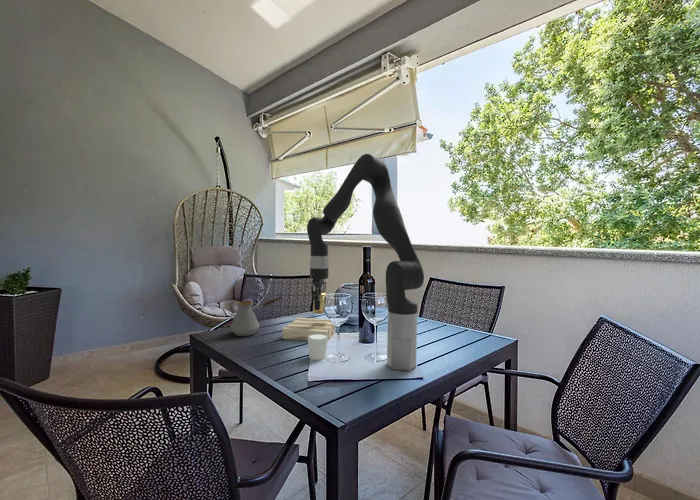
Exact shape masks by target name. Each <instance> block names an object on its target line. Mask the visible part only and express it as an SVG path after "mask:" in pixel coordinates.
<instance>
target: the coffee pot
mask: <svg viewBox="0 0 700 500" xmlns="http://www.w3.org/2000/svg"><path fill="white" fill-rule="evenodd" d="M279 300H282V302H284V298H283V296H278V297H276V298H274V299H271V300H269V301H267V302H264V303H262V304H261V305H258V306H255V307H252V305H253V304H254V301H251V300H250V301H249V300H242V301H241V300H240V301H238V302H236V305H237V307H238V308H237V310H236V313H235V315H234V318H233V319H232V322H231V325H230V327H229V329H230V331H231V332H232V333H233V334H234V335H235V336H237V337H238V336H239V337H248V336H252V335H254V334H256V332H257V331H258V330H259V328H260V324H259V321H258V319H257V317H256V314H255V313H254V311H256V310H258V309H260V308H263V307H265V306H268V305H271V304H273V303H275V302H276V301H278V302H279Z"/></svg>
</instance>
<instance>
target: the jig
mask: <svg viewBox="0 0 700 500" xmlns="http://www.w3.org/2000/svg"><path fill="white" fill-rule="evenodd" d="M330 320H331V319H323V318H311V317H310V318H306V317H296V318H295V319H294V320H293V321H291V322H290V323H288V324H287V325H286V326H284V327H283V328H282V339H284V340H295V341H305V342H306V341H307V342H308V336H309V335H312V334H324V335H327V336H328V341H329V340H330V339H331V338H332V337H331V336H332V335H333V336H334V334H335V333H336V332H335V324H333V323H332V322H331V321H330ZM330 337H331V338H330Z"/></svg>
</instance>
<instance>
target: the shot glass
mask: <svg viewBox="0 0 700 500" xmlns="http://www.w3.org/2000/svg"><path fill="white" fill-rule="evenodd" d="M328 342H329V340H328V336H327V335H324V334H312V335H309V336H308V341H307V345H308V356H309V359H310V360H314V361H322V360H325V359H326V357H327V349H328Z"/></svg>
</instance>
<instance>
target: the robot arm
mask: <svg viewBox="0 0 700 500" xmlns="http://www.w3.org/2000/svg"><path fill="white" fill-rule="evenodd" d="M389 173H390V172H389V168H388V166H387V164H386V163H385V162H384V160H382V159H380V158H378V157H377V156H375V155H373V154H371V153H364V154H362V155H361V156H359V158H358V159H357V160H356V162H355V163H354V165H353V166H352V168H351V169H350V171H349V173H348V174H347V176H346V178H345V179H344V181H343V182H342V185H341V186H339V187H340V188H339V189H338V191H337V192H336V193H335V194H334V195H333V197H332V198H331V199H330V200H329V202H327V204H326V205H325V206H324V208H323V209H322V213H323V216H322V217H316V216H315V217H311V218H310V219H309V220H308V222H307V225H306V231H307V236H308V241H309V243H310V259H309V279H310V280H313V283H312V285H311V287H310V288H311V299H312V301H313V302H314V309H315V310H320V295H321V294H322V293H324V292H325V293H326V289H327V281H325V280H327V279H328V278H329V243H328V242H327V241H325V240H323V236H326V235H328V234H330V233H331V232H332V231H333V229H334V227H335V225H336V224H337V222H338V220H339V218H341V216H342V215H343V214H344V213H345V212H346V210H347V209H348V208H349V206H350V204H351V202H352V198H353V194H354V191H355V189H356V187H357V186H358V185H359V184H360V183H361V182H362V181H364V182H367V183H369V184H370V185H371V188H372V190H373V193H374V198H375V201H374V204H373V209H372V215H373V220H374V224H375V226H376V230H377V231H378V232H377V233H378V234H379V235H380V236H381V237H382V238H383V240H384V241H385V242H386V243H388V245H390V247H391V248H392V249H393V250H394V252H395V253H396V254H397V257H398V258H399V260H393V261H391V262H389V263H388V264H387V267H386V269H385V298H386V300H385V301H386V303H387V304H386V305H387V335H386V336H387V338H386V339H387V340H386V343H387V344H386V365H387V366H388V367H389V368H390V370H396V371H408V372H409V371H410V372H411V371H412V370H413V369H415V368H416V367H417V347H418V346H417V343H418V342H417V341H418V340H417V338H418V303H417V302H416V301H414V300H411V299H408V298H407V297H406V293H405V292H406V291H409V290H410V291H411V290H418V289H420V288H422V287H423V284H424V281H425V280H424V279H425V273H424V269H423V266H422V263H421V261H420V259H419V257H418V255H417V252H416V250H415V248H414V246H413V244H412V242H411V239H410V236H409V234H408V231H407V229H406V225H405V222H404V219H403V216H402V213H401V210H400V207H399V205H398V202H397V199H396V197H395V193H394V190H393V186H392V183H391V177H390V174H389ZM319 292H320V293H319ZM315 295H317V297H316V296H315ZM324 297H326V295H324Z"/></svg>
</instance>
